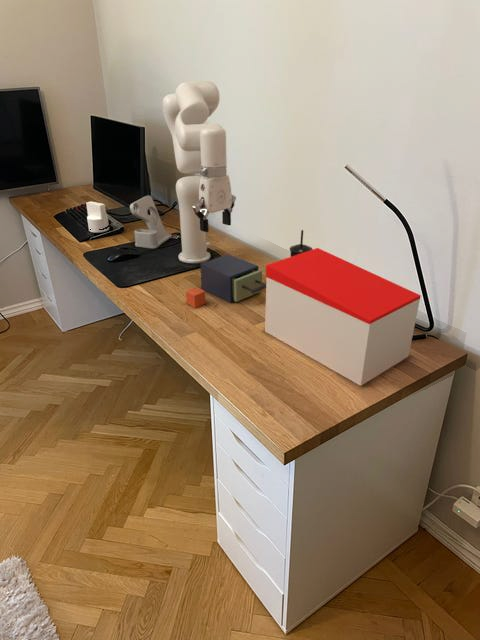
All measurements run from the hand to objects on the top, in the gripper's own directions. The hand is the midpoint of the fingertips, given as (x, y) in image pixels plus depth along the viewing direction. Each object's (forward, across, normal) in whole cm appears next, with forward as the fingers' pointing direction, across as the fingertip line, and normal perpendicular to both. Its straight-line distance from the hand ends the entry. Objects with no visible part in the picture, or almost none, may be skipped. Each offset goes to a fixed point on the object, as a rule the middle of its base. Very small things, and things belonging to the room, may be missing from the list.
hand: (215, 227), depth 153 cm
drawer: (+22, +5, -6) cm, 24 cm away
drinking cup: (+23, +25, -15) cm, 37 cm away
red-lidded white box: (+24, +1, -45) cm, 52 cm away
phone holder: (+22, +18, +58) cm, 65 cm away
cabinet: (+23, +6, 0) cm, 24 cm away
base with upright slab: (+21, +10, +89) cm, 92 cm away
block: (+23, -9, +1) cm, 25 cm away
